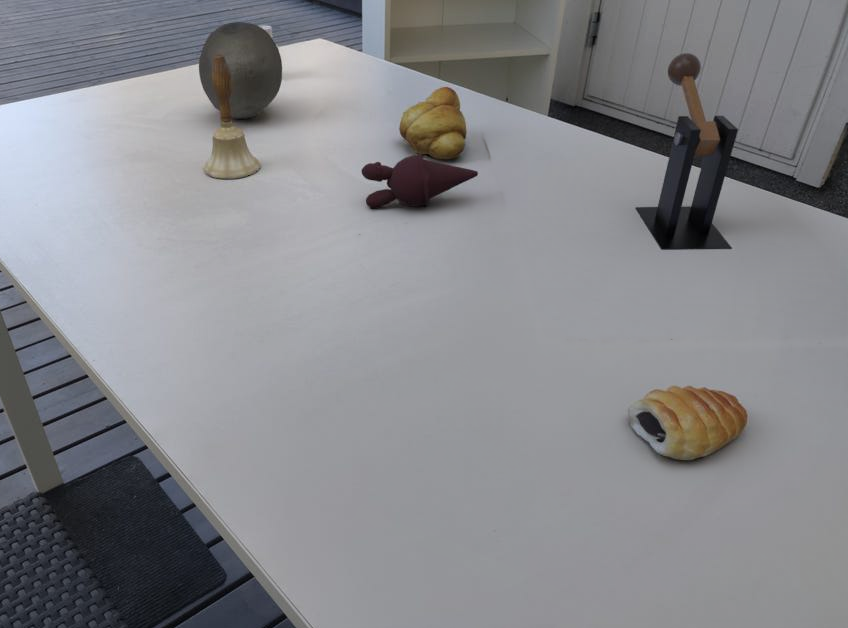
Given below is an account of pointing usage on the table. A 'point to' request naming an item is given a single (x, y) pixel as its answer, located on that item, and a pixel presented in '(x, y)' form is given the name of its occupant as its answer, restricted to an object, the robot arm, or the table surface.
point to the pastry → (687, 421)
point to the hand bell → (228, 133)
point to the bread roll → (435, 125)
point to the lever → (694, 100)
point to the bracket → (695, 222)
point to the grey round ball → (243, 67)
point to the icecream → (413, 180)
